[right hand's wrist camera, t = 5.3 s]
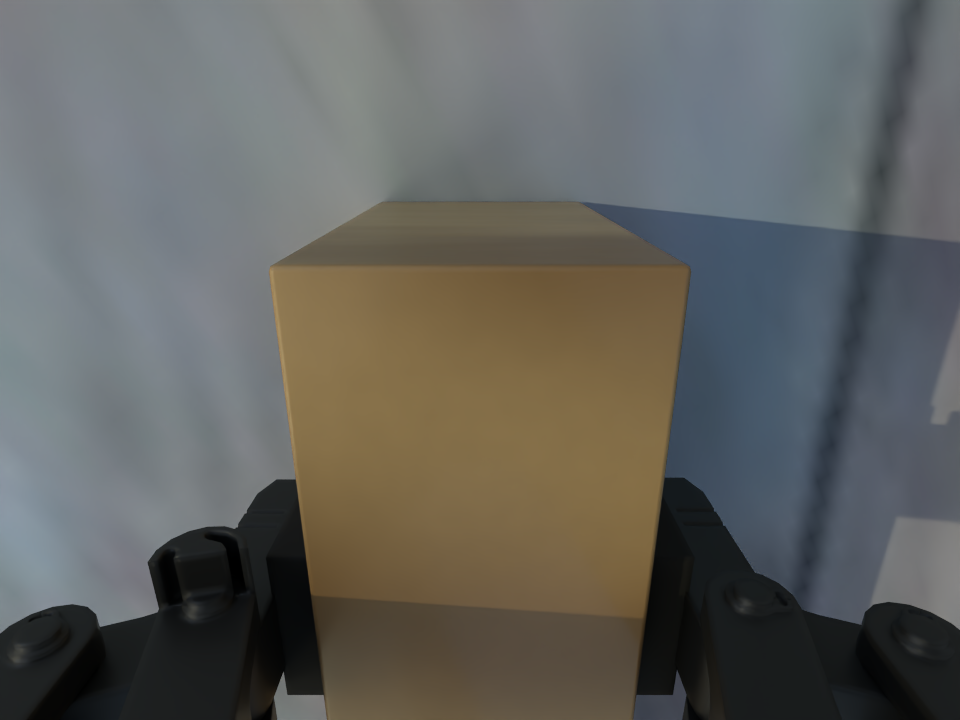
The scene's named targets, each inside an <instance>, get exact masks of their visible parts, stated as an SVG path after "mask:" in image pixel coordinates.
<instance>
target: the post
mask: <svg viewBox="0 0 960 720" xmlns="http://www.w3.org/2000/svg"><path fill="white" fill-rule="evenodd" d="M269 275H270V283H271V291H272V298H273V306H274V314H275V321H276V329H277V337H278V345H279V352H280V360H281V368H282V376H283V383H284V391H285V399H286V406H287V414H288V422H289V430H290V437H291V445H292V453H293V460H294V468H295V476H296V484H297V491H298V499H299V507H300V514H301V522H302V530H303V538H304V545H305V553H306V561H307V568H308V576H309V584H310V592H311V599H312V607H313V615H314V622H315V630H316V638H317V646H318V653H319V661H320V669H321V677H322V684H323V692H324V700H325V707H326V715H327V720H633V717H634V709H635V701H636V693H637V686H638V678H639V670H640V663H641V655H642V647H643V639H644V632H645V624H646V616H647V609H648V601H649V593H650V585H651V578H652V570H653V562H654V555H655V547H656V539H657V531H658V524H659V516H660V508H661V501H662V493H663V485H664V477H665V470H666V462H667V454H668V447H669V439H670V431H671V423H672V416H673V408H674V400H675V393H676V385H677V377H678V369H679V362H680V354H681V346H682V339H683V331H684V323H685V315H686V308H687V300H688V292H689V285H690V277H691V269H690V266H688V265H687V264H685V263H683V262H681V261H680V260H678V259H676V258H674V257H673V256H671V255H669V254H668V253H666V252H664V251H662V250H661V249H659V248H657V247H656V246H654V245H652V244H650V243H649V242H647V241H645V240H644V239H642V238H640V237H638V236H637V235H635V234H633V233H631V232H630V231H628V230H626V229H625V228H623V227H621V226H619V225H618V224H616V223H614V222H613V221H611V220H609V219H607V218H606V217H604V216H602V215H601V214H599V213H597V212H595V211H594V210H592V209H590V208H588V207H587V206H585V205H583V204H582V203H580V202H381V203H379V204H377V205H376V206H374V207H372V208H370V209H369V210H367V211H365V212H363V213H362V214H360V215H358V216H357V217H355V218H353V219H351V220H350V221H348V222H346V223H344V224H343V225H341V226H339V227H338V228H336V229H334V230H332V231H331V232H329V233H327V234H325V235H324V236H322V237H320V238H319V239H317V240H315V241H313V242H312V243H310V244H308V245H306V246H305V247H303V248H301V249H300V250H298V251H296V252H294V253H293V254H291V255H289V256H287V257H286V258H284V259H282V260H281V261H279V262H277V263H275V264H274V265H272V266H271V267H270V270H269Z"/></svg>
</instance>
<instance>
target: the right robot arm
mask: <svg viewBox="0 0 960 720" xmlns="http://www.w3.org/2000/svg"><path fill="white" fill-rule="evenodd" d="M148 566H149V570H150V574H151V578H152V582H153V586H154V590H155V594H156V598H157V602H158V606H159V610H158V613H154V614H151V615H148V616H145V617H141V618H137V619H133V620H128V621H124V622H120V623H116V624H111V625H107V626H103V627H100V626H99V623H98V619H97V616H96V614H95V613H94V612H93V611H92V610H90V609H89V608H88V607H85V606H79V605H73V604H71V605H64V606H56V607H51V608H48V609H45V610H42V611H40V612H37V613H34V614H31V615H29V616H27V617H25V618H24V619H22V620H20V621H18V622H16V623H14V624H13V625H11V626H9V627H8V628H7V629H5V630H4V631H3V632H2V633H0V720H277V715H276V708H275V702H274V695H275V692H276V690H277V687H278V684H279V682H280V679H281V676H282V674H283V671H284V675H285V682H286V688H287V694H288V695H324V692H323V684H322V677H321V669H320V661H319V653H318V646H317V638H316V630H315V622H314V615H313V607H312V599H311V592H310V584H309V576H308V568H307V561H306V553H305V545H304V538H303V530H302V522H301V514H300V507H299V499H298V491H297V484H296V480H275V481H274V482H273V483H271V484H270V485H269V486H267V487H266V488H265V489H263V490H262V491H261V492H259V493H258V494H257V496H256V497H255V499H254V500H253V502H252V503H251V505H250V507H249V508H248V510H247V514H244V516H243V518H242V519H241V521H240V522H239V524H238V528H236V529H232V528H229V527H225V526H223V527H205V528H201V529H197V530H193V531H189V532H186V533H184V534H182V535H180V536H178V537H175V538H173V539H171V540H170V541H168V542H167V543H166V544H164V545H163V546H162V547H160V548H159V549H157V550H156V552H155V553H154V554H153V556H152V557H151V558H150V560H149V561H148ZM677 670H678V673H679V675H680V678H681V681H682V683H683V686H684V689H685V691H686V694H687V696H686V702H685V708H684V713H683V719H682V720H960V630H959V629H958V628H956V627H955V626H954V625H953V624H951V623H949V622H948V621H946V620H944V619H942V618H940V617H938V616H937V615H935V614H933V613H931V612H929V611H926V610H923V609H920V608H917V607H914V606H911V605H907V604H900V603H892V602H886V603H880V604H875V605H873V606H872V607H870V608H869V609H868V610H867V611H866V612H865V614H864V618H863V621H862V624H861V625H859V624H855V623H851V622H846V621H842V620H838V619H833V618H829V617H825V616H820V615H817V614H814V613H810V612H807V611H804V610H802V609H801V607H800V606H799V604H798V603H797V601H796V599H795V598H794V596H793V595H792V594H791V593H790V592H789V591H787V590H786V589H785V588H784V587H783V586H781V585H780V584H779V583H777V582H775V581H773V580H771V579H769V578H767V577H765V576H763V575H761V574H757V573H755V572H754V571H753V569H752V567H751V566H750V564H749V563H748V561H747V560H746V558H745V557H744V555H743V553H742V552H741V550H740V549H739V547H738V546H737V544H736V543H735V541H734V539H733V538H732V536H731V535H730V533H729V532H728V530H727V528H726V527H725V526H723V524H722V521H721V519H720V518H719V516H718V514H717V513H716V512H714V508H713V507H712V505H711V504H710V502H709V500H708V499H707V497H706V496H705V494H704V493H703V492H702V491H701V490H700V489H698V488H697V487H696V486H694V485H693V484H692V483H690V482H689V481H688V480H686V479H685V478H664V485H663V493H662V501H661V508H660V516H659V524H658V531H657V539H656V547H655V555H654V562H653V570H652V578H651V585H650V593H649V601H648V609H647V616H646V624H645V632H644V639H643V647H642V655H641V663H640V670H639V678H638V686H637V693H636V695H673V690H674V684H675V678H676V672H677Z"/></svg>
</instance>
